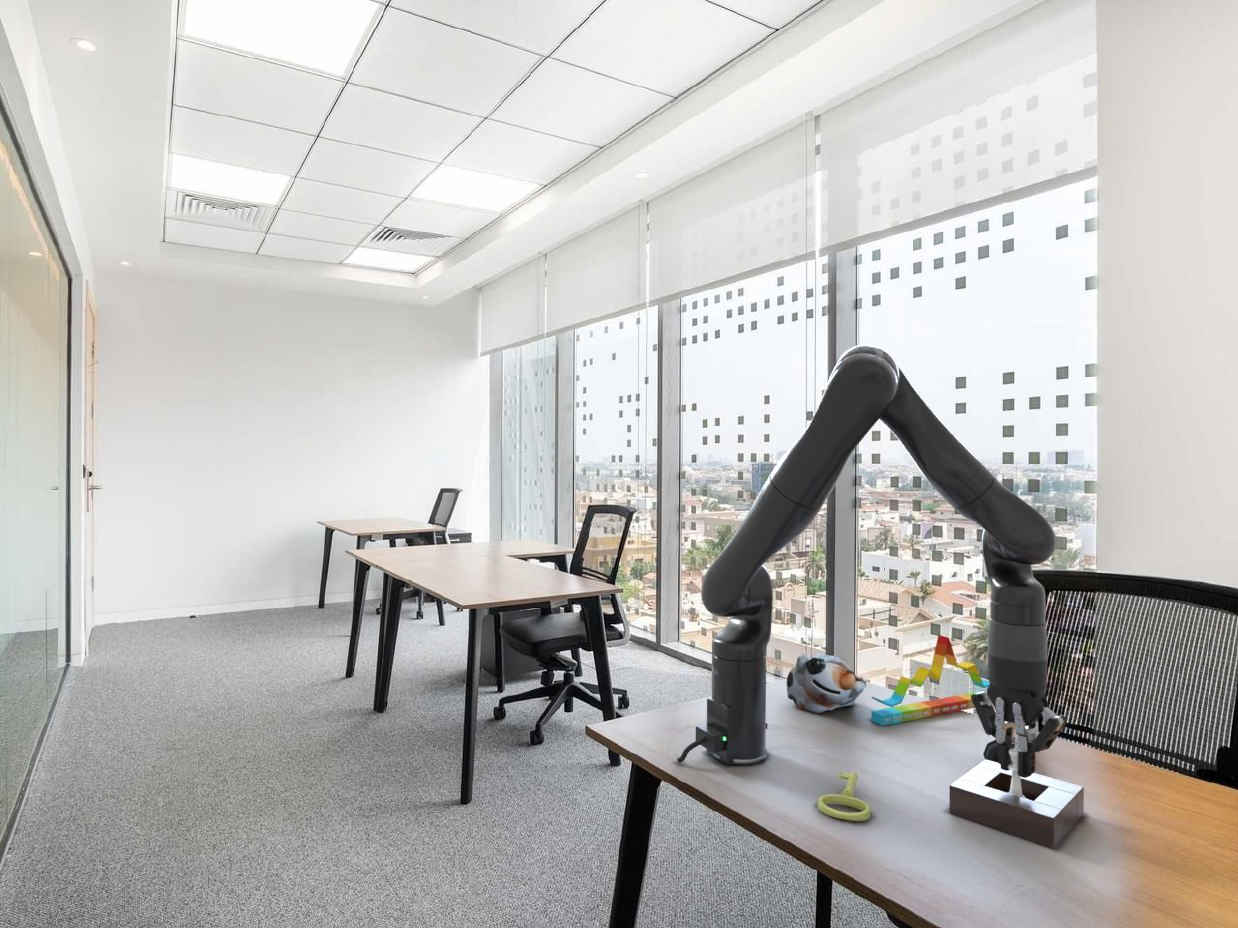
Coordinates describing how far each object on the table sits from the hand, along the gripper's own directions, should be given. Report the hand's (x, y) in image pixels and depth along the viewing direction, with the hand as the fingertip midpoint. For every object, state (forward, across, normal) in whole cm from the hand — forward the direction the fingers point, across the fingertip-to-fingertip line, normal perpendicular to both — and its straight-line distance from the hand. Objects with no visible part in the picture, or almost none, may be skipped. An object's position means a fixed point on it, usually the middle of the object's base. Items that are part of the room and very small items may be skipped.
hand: (1015, 771), depth 107 cm
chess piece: (+5, 0, 0) cm, 5 cm away
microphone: (+6, +12, -17) cm, 22 cm away
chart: (+6, +34, -26) cm, 44 cm away
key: (+6, +14, +19) cm, 24 cm away
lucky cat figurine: (+6, +47, -9) cm, 48 cm away
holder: (+6, 0, 0) cm, 6 cm away
